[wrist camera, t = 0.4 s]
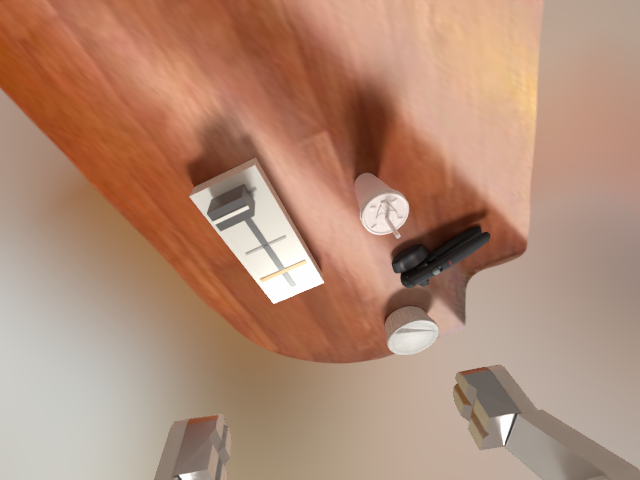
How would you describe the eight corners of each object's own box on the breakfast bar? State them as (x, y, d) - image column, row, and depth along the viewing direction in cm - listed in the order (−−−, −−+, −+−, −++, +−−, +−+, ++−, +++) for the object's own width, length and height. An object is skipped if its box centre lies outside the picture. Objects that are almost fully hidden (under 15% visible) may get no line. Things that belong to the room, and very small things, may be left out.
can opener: (397, 279, 60) (408, 299, 55) (386, 256, 56) (397, 275, 51) (483, 240, 57) (501, 258, 52) (477, 213, 53) (497, 230, 49)
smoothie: (350, 207, 48) (376, 260, 37) (341, 171, 45) (366, 219, 33) (388, 195, 48) (425, 245, 37) (382, 158, 44) (422, 201, 33)
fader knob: (211, 199, 40) (206, 214, 37) (244, 183, 40) (242, 197, 36) (223, 216, 42) (220, 232, 39) (255, 201, 42) (254, 216, 38)
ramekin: (421, 294, 63) (432, 313, 59) (433, 322, 69) (444, 342, 65) (373, 315, 65) (380, 335, 60) (389, 341, 71) (396, 361, 67)
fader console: (193, 187, 43) (189, 196, 40) (255, 157, 42) (254, 165, 39) (273, 292, 56) (273, 304, 54) (321, 271, 55) (324, 283, 53)
